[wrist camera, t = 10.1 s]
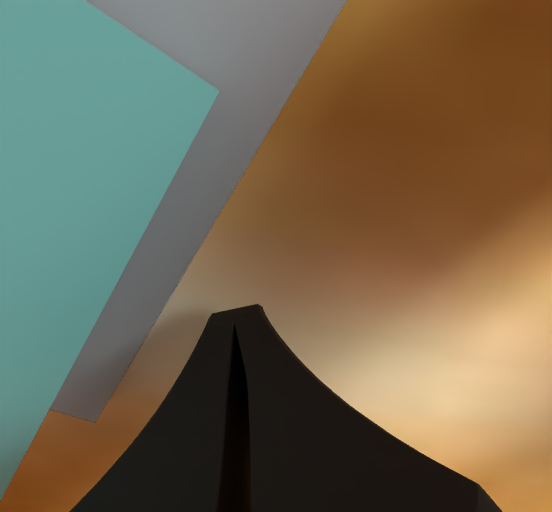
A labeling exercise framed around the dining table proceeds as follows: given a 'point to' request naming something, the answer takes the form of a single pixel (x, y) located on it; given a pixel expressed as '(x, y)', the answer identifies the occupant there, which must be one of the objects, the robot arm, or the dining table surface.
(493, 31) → the dining table surface
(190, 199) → the base plate
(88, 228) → the housing
